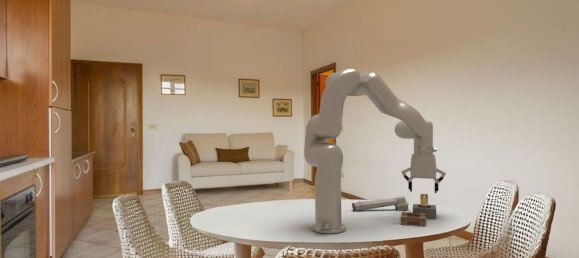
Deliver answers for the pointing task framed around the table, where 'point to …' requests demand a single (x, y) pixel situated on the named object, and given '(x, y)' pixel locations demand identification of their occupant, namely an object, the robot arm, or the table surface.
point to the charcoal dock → (425, 210)
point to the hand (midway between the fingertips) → (423, 192)
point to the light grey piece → (381, 204)
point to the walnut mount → (413, 219)
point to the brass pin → (424, 200)
